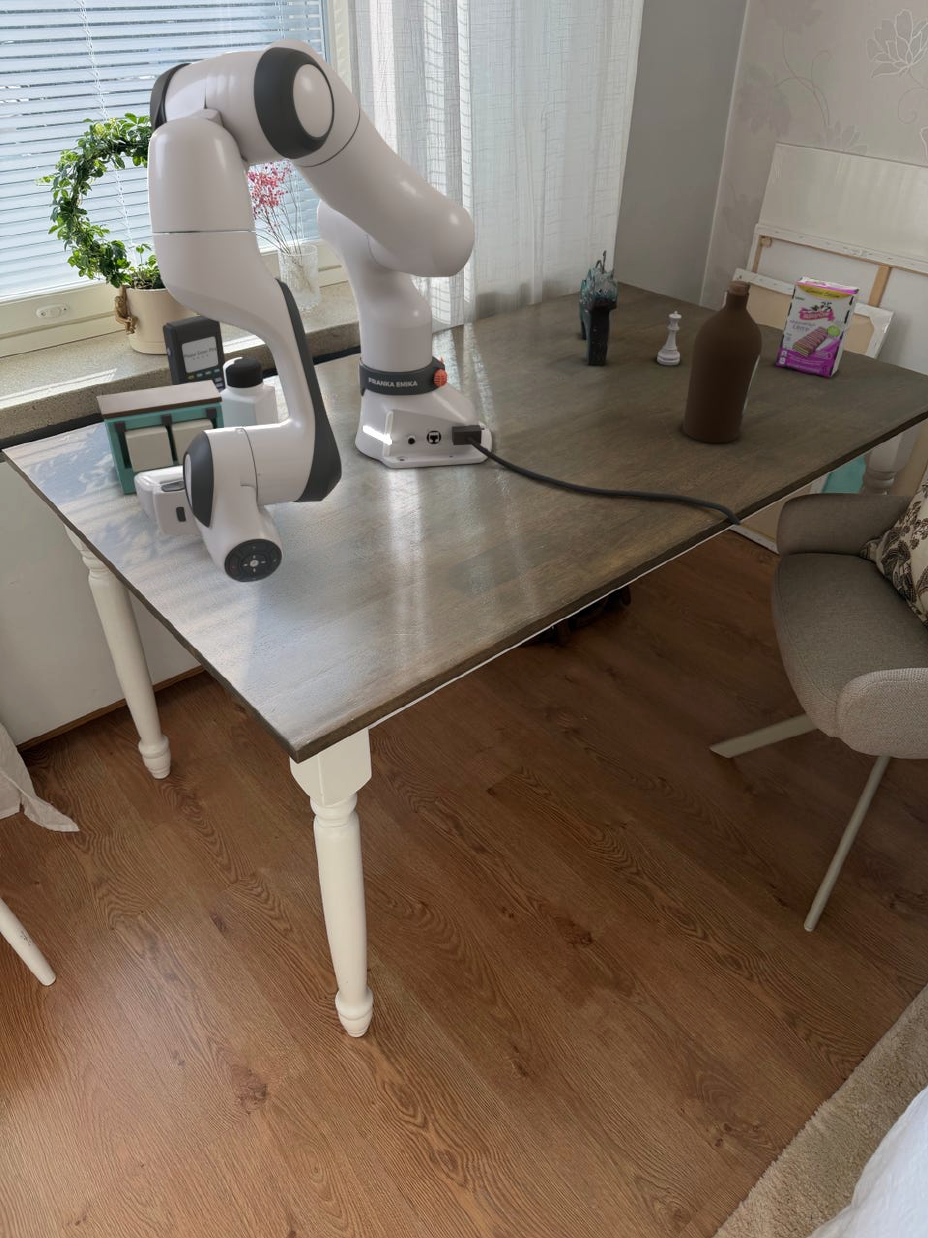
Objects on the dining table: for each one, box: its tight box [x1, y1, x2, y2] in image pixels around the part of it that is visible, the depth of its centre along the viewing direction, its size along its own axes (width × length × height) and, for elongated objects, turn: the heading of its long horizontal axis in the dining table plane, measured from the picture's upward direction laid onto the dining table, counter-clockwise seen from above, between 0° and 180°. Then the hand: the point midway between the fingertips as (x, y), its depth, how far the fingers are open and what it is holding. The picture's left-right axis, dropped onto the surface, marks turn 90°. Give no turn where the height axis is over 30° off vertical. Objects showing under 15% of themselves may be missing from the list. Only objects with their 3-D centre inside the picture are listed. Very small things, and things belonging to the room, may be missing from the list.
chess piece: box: [656, 310, 682, 366], centre depth 180 cm, size 4×4×10 cm
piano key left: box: [124, 424, 173, 472], centre depth 133 cm, size 4×6×5 cm, turn 114°
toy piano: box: [95, 380, 224, 495], centre depth 138 cm, size 10×17×12 cm, turn 114°
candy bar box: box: [775, 276, 861, 378], centre depth 177 cm, size 11×5×16 cm, turn 58°
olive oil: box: [682, 279, 763, 444], centre depth 150 cm, size 11×11×25 cm
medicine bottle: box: [220, 356, 280, 428], centre depth 150 cm, size 7×7×12 cm
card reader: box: [162, 314, 226, 393], centre depth 157 cm, size 9×4×15 cm, turn 131°
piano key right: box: [169, 417, 213, 464], centre depth 135 cm, size 4×6×5 cm, turn 114°
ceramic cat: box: [578, 250, 619, 367], centre depth 181 cm, size 20×6×20 cm, turn 179°
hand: (202, 456), depth 131 cm, fingers closed
